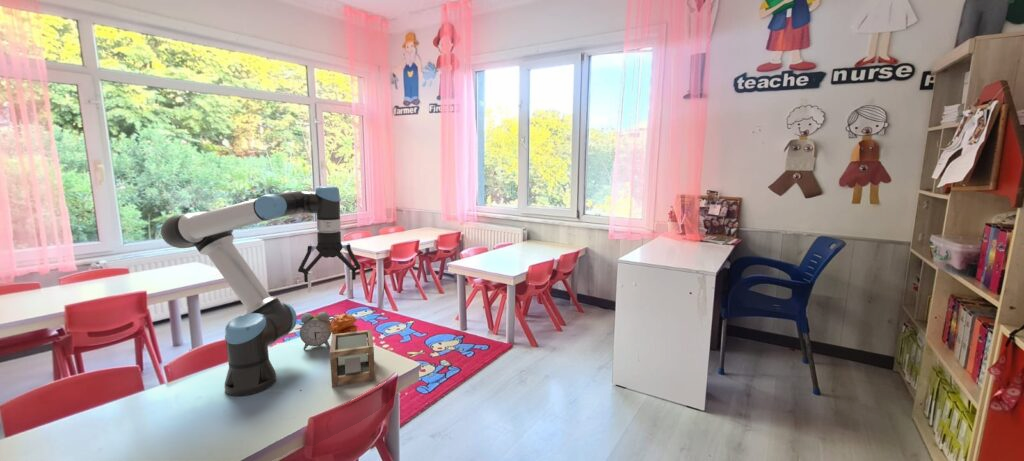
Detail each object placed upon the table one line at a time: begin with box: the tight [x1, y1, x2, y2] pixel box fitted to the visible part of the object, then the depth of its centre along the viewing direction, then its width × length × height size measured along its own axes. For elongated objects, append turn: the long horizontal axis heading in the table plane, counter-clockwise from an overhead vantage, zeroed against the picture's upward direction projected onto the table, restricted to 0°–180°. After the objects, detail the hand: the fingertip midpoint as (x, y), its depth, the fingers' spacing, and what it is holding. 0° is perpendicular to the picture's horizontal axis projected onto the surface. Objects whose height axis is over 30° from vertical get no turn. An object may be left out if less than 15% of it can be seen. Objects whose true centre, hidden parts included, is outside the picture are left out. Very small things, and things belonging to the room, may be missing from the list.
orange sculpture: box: [330, 311, 359, 335], centre depth 166 cm, size 11×11×18 cm
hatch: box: [337, 334, 368, 367], centre depth 156 cm, size 10×10×1 cm
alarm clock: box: [299, 311, 332, 351], centre depth 175 cm, size 12×7×15 cm, turn 104°
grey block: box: [344, 357, 362, 375], centre depth 151 cm, size 5×5×6 cm
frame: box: [329, 329, 376, 388], centre depth 154 cm, size 14×16×12 cm
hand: (330, 289), depth 152 cm, fingers open, 13 cm apart
